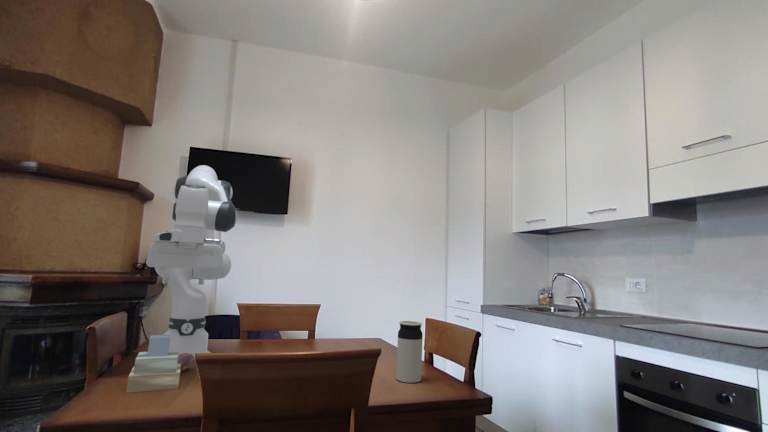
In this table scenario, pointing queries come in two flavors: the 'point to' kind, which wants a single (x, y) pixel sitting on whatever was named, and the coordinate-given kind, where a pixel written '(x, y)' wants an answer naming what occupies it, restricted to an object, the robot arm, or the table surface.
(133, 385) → the cream stepped block
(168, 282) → the robot arm
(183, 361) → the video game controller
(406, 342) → the travel mug
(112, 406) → the table surface
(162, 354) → the slate brick
